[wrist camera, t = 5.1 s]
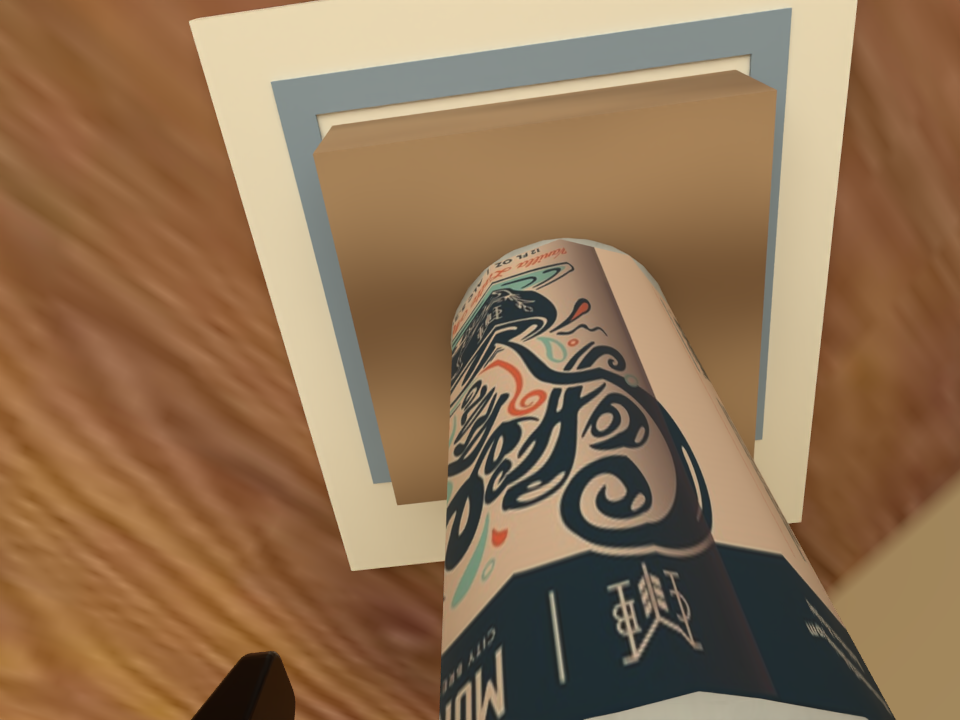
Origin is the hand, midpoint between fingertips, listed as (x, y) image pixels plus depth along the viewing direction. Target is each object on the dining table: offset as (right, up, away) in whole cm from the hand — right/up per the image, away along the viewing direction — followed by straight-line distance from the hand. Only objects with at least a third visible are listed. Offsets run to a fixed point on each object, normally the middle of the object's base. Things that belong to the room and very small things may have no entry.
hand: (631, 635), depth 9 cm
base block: (0, +5, +9) cm, 11 cm away
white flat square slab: (0, +5, +10) cm, 12 cm away
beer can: (0, +4, +7) cm, 9 cm away
